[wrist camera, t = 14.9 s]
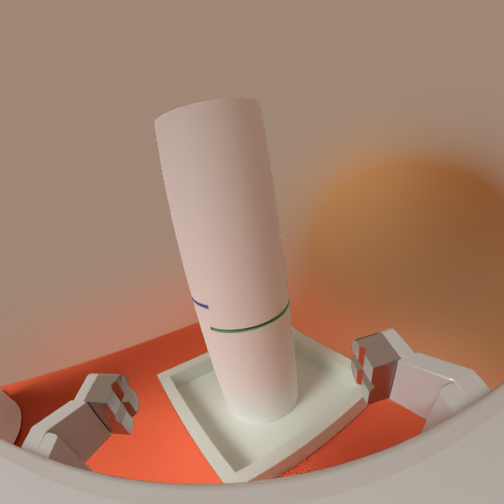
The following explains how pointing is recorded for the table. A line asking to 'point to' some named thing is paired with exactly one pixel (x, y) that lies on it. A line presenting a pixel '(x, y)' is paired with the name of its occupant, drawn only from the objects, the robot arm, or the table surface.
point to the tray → (270, 434)
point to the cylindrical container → (232, 250)
